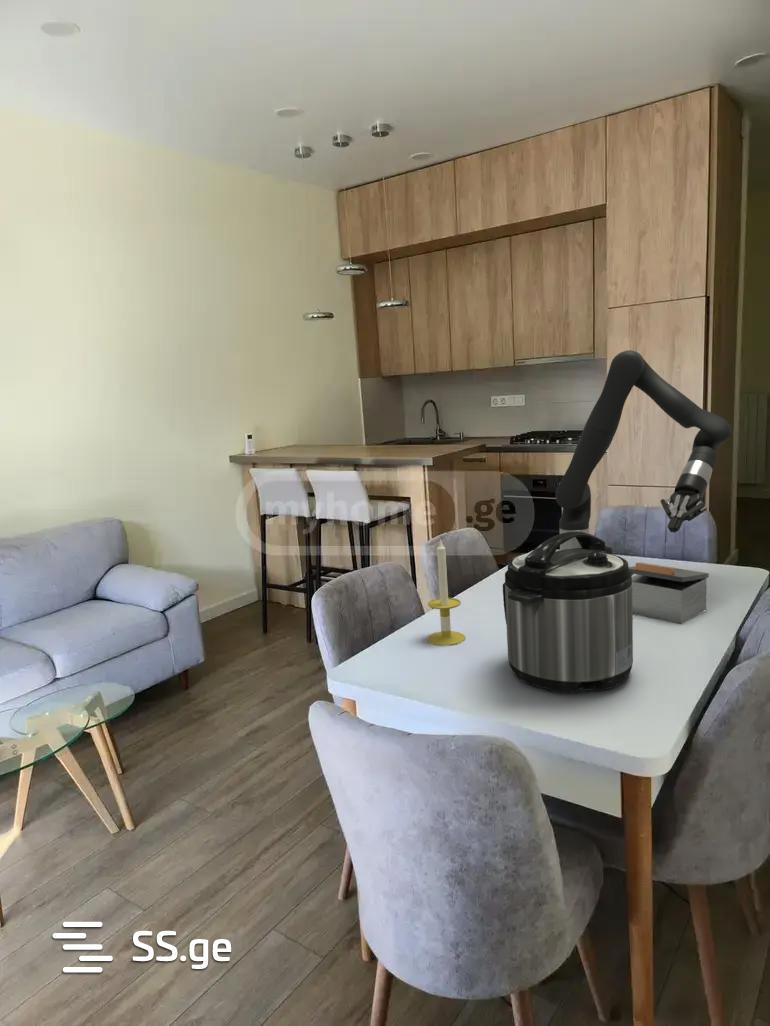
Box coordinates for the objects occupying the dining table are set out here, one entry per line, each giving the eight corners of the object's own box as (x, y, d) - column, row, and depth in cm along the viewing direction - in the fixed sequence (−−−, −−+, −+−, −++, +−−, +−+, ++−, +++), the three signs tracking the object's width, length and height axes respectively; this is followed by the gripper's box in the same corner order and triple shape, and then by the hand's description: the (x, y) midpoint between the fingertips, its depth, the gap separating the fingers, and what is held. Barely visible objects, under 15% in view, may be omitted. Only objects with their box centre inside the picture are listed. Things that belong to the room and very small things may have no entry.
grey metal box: (624, 611, 186) (624, 580, 185) (650, 599, 195) (650, 569, 194) (681, 623, 174) (681, 590, 173) (706, 610, 183) (706, 578, 181)
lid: (623, 572, 185) (623, 561, 184) (650, 568, 194) (651, 558, 194) (682, 582, 172) (683, 570, 172) (708, 577, 181) (709, 566, 181)
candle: (449, 648, 169) (443, 544, 164) (419, 640, 176) (412, 540, 171) (473, 636, 176) (468, 536, 171) (443, 629, 183) (437, 532, 178)
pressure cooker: (606, 641, 166) (604, 515, 161) (664, 690, 139) (664, 540, 133) (487, 654, 164) (481, 527, 158) (522, 706, 136) (516, 554, 131)
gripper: (666, 471, 192) (644, 520, 186) (713, 473, 182) (691, 525, 176) (675, 486, 196) (654, 535, 190) (722, 489, 186) (700, 541, 180)
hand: (672, 530), depth 183 cm, fingers closed
